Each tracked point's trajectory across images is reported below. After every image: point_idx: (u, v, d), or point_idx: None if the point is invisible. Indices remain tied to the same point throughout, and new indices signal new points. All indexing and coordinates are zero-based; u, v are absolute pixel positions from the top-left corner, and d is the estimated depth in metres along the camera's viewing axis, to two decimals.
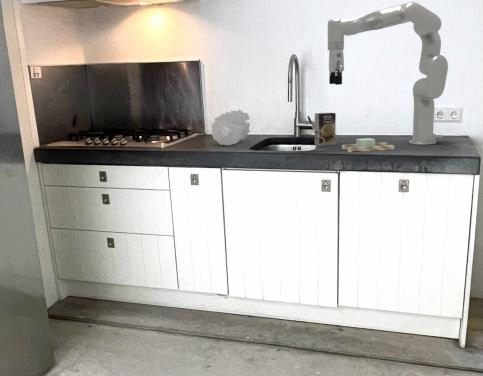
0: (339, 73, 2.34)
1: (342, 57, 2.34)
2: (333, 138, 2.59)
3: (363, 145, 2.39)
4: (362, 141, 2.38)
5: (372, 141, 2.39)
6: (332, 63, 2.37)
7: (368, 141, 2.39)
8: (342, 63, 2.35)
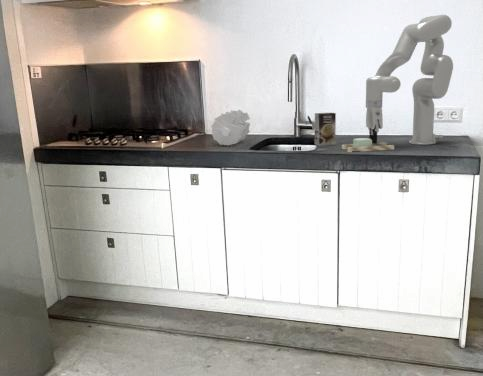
0: (374, 133, 2.38)
1: (381, 115, 2.34)
2: (333, 138, 2.59)
3: (360, 145, 2.39)
4: (359, 141, 2.38)
5: (369, 141, 2.39)
6: (370, 121, 2.37)
7: (365, 141, 2.39)
8: (381, 121, 2.35)
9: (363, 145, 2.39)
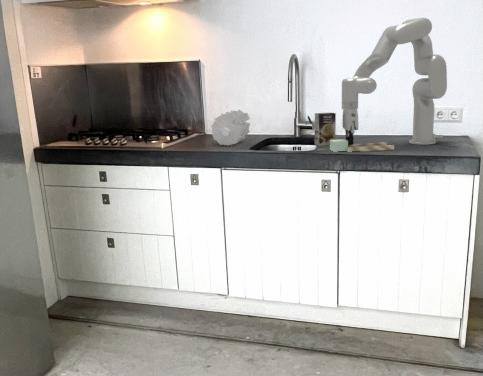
0: (350, 134, 2.37)
1: (356, 117, 2.33)
2: (333, 138, 2.59)
3: (336, 146, 2.38)
4: (335, 142, 2.37)
5: (345, 142, 2.38)
6: (346, 122, 2.36)
7: (341, 142, 2.38)
8: (356, 122, 2.34)
9: (339, 146, 2.38)
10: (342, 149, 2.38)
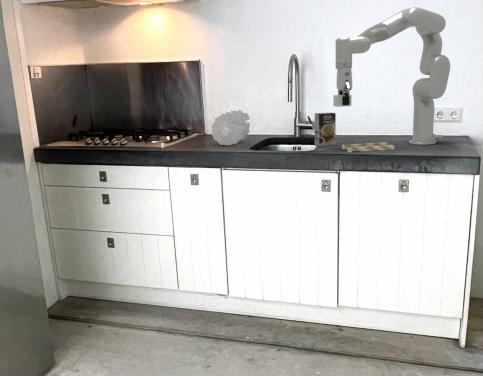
0: (346, 94, 2.33)
1: (350, 76, 2.32)
2: (333, 138, 2.59)
3: (339, 101, 2.36)
4: (338, 96, 2.35)
5: None
6: (340, 82, 2.34)
7: None
8: (350, 82, 2.32)
9: None
10: None
